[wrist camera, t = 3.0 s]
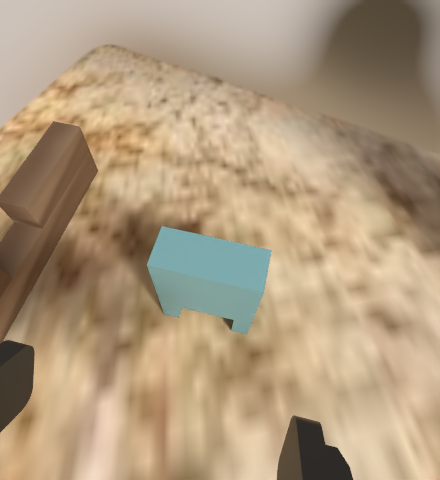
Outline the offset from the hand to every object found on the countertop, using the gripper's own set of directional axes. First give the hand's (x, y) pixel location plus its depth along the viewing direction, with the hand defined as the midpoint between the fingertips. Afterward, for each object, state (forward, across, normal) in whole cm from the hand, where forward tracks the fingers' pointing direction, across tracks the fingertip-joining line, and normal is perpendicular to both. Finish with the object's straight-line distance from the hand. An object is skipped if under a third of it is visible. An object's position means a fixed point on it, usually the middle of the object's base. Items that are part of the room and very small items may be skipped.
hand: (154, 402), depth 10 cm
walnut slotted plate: (+14, +14, +4) cm, 20 cm away
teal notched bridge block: (+14, 0, +4) cm, 14 cm away
